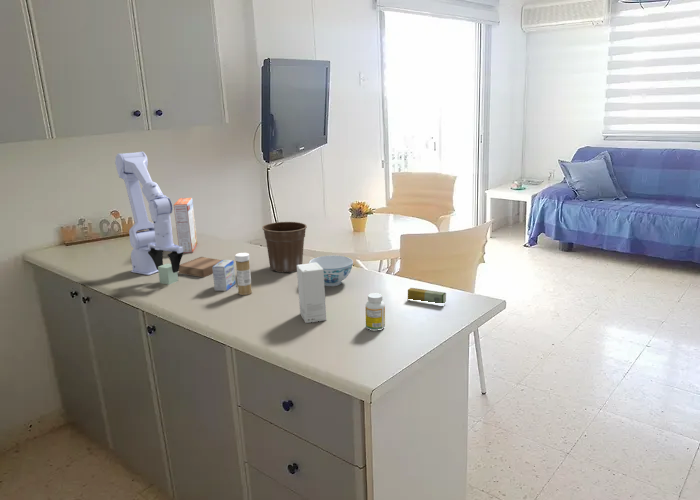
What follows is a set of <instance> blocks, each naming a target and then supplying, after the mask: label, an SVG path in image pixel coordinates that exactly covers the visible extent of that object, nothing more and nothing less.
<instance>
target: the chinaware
mask: <svg viewBox="0 0 700 500" xmlns="http://www.w3.org/2000/svg"><path fill="white" fill-rule="evenodd" d="M316 262H317V263H318V264H319V265H320V266H321V267H322V268H323V270H324V287H325V286H327V287H336V286H340V285H341V284H342V282H343V281H344V280H345V279H346V278H347V277H348V276H349V275H350V273H351V270H352V268H353V265H354V260H353V259H352V258H350V257H348V256H345V255H336V254H335V255H333V254H332V255H322V256H318V257H314V258H312V259H310V260H309V262H308V263H316Z"/></svg>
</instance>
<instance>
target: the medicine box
mask: <svg viewBox="0 0 700 500" xmlns="http://www.w3.org/2000/svg"><path fill="white" fill-rule="evenodd" d="M221 260H222V261H220V262H219V263H217V264H216V265H215V266H213V267H212V268H213V274H212V276H213V284H214V291H217V292H228V291H229V290H230V289H231V288H232V287H234V285H235V284H236V273H235V261H234V260H233V259H221Z"/></svg>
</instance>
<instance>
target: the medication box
mask: <svg viewBox="0 0 700 500" xmlns="http://www.w3.org/2000/svg"><path fill="white" fill-rule="evenodd" d="M408 299H413V300H421V301H428V302H435V303H445V302H446V303H447V293H446V292H443V291H442V292H441V291H436V290H429V289H424V288H423V289H422V288H417V287H415V288H414V287H410V288H408V289H407V300H408Z"/></svg>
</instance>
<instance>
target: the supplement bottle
mask: <svg viewBox="0 0 700 500" xmlns="http://www.w3.org/2000/svg"><path fill="white" fill-rule="evenodd" d="M367 300H368V301H367V302H366V303H365V328H366V329H367V328H368V329H371V330H378V329H382V328H384V327H385V324H386V321H385V320H386V316H385V315H386V304H385V302H384V301H383V300H384V299H383V295H382V294H381V293H378V292H371V293H369V294H368V295H367ZM368 329H367V330H368ZM384 329H385V328H384Z"/></svg>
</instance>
